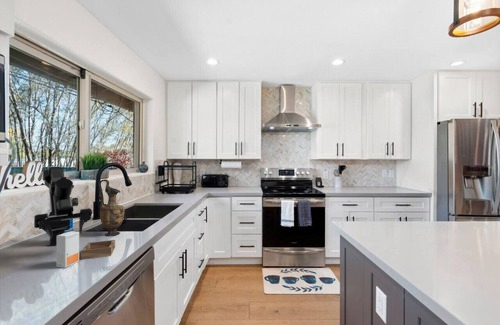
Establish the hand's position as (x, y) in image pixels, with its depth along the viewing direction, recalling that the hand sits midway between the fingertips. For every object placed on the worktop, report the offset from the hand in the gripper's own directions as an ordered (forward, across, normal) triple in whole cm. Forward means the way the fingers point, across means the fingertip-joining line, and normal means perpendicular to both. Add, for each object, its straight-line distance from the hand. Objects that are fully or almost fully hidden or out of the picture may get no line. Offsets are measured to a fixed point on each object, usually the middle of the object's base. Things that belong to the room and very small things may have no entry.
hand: (66, 234), depth 96 cm
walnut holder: (+7, +11, +8) cm, 16 cm away
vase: (-12, +23, +27) cm, 37 cm away
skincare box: (+10, 0, +5) cm, 11 cm away
